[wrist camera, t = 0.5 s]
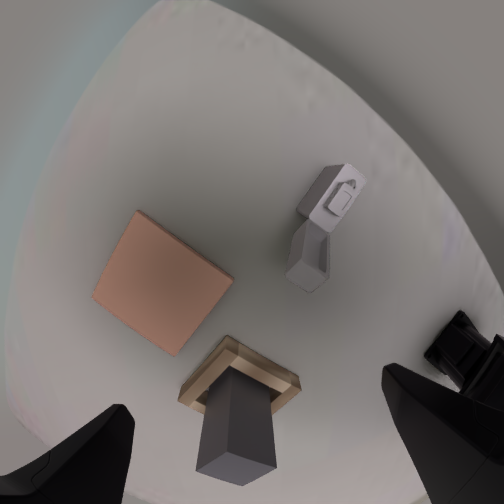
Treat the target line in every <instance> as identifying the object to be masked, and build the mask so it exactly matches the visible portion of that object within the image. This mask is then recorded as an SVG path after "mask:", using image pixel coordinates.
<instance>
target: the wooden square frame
mask: <svg viewBox="0 0 504 504" xmlns="http://www.w3.org/2000/svg"><path fill="white" fill-rule="evenodd" d="M229 365H230V366H232V367H234V368H235V369H237V370H239V371H241V372H243V373H245V374H246V375H248V376H250V377H252V378H254V379H256V380H258V381H260V382H262V383H263V384H265V385H267V386H269V387H271V388H270V389H269V392H270V402H271V413H272V415H273V414H274V413H275V412H276V411H278V410H279V409H280V408H281V407H282V406H284V405H285V404H286V403H287V402H288V401H290V400H291V399H292V398H293V397H294V396H295V395H297V394H298V393H299V392H300V391H301V390H302V389H301V385H300V381H299V377H298V376H297V375H295V374H293V373H291V372H290V371H288V370H286V369H284V368H282V367H280V366H279V365H277V364H275V363H273V362H272V361H270V360H268V359H266V358H264V357H263V356H261V355H259V354H258V353H256V352H254V351H252V350H251V349H249V348H247V347H246V346H244V345H242V344H241V343H239V342H237V341H236V340H234V339H232V338H231V337H229V336H228V335H227V336H226V337H225V338H224V340H223V341H222V342H221V343H220V344H219V345H218V346H217V348H216V349H215V350H214V351H213V352H212V353H211V354H210V356H209V357H208V358H207V359H206V360H205V361H204V362H203V364H202V365H201V366H200V367H199V368H198V369H197V370H196V371H195V373H194V374H193V375H192V376H191V377H190V378H189V379H188V380H187V381H186V383H185V384H184V385H183V386H182V387H181V390H180V393H179V397H178V400H177V401H179V402H181V403H182V404H184V405H186V406H188V407H190V408H192V409H194V410H196V411H198V412H200V413H202V414H205V408H206V402H207V396H208V392H207V391H205V390H206V389H207V388H208V387H209V386H210V385H211V384H212V383H213V382H214V381H215V380H216V379H217V378H218V377H219V376H220V375H221V374H222V372H223V371H224V370H225V369H226V368H227V367H228V366H229Z"/></svg>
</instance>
